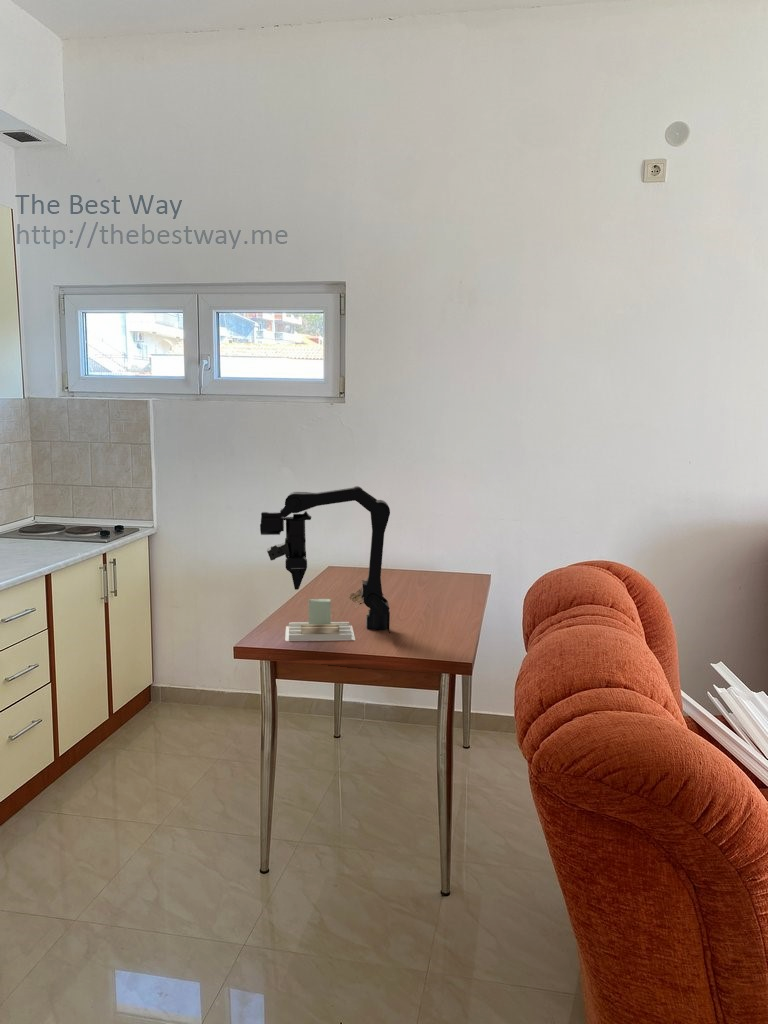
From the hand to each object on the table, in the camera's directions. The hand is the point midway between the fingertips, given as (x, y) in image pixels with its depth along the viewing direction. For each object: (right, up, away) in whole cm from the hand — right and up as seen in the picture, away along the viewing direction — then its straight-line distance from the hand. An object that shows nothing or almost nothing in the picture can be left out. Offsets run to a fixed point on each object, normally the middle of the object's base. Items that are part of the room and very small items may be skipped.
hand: (296, 585), depth 235 cm
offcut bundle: (+8, -14, -8) cm, 18 cm away
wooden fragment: (+20, -8, +47) cm, 52 cm away
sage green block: (+7, -13, 0) cm, 15 cm away
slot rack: (+7, -15, -4) cm, 17 cm away
